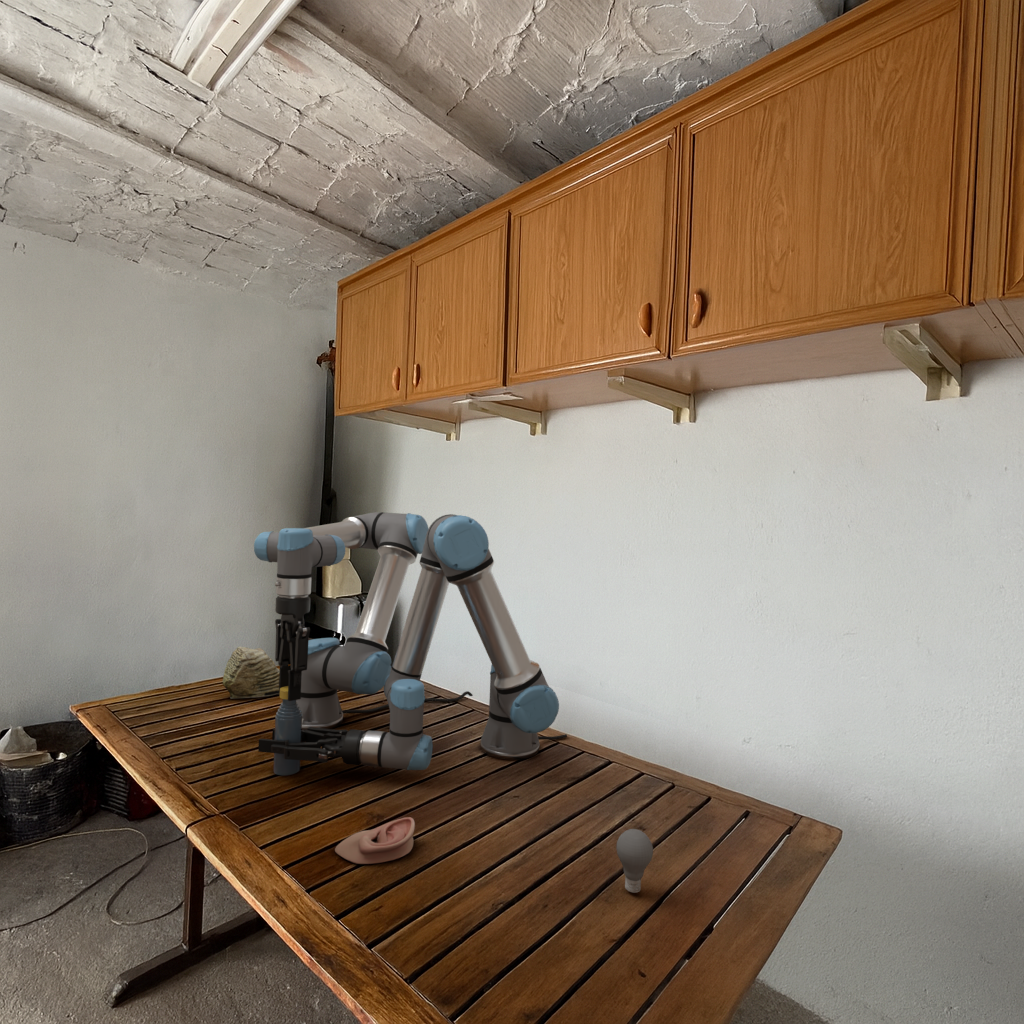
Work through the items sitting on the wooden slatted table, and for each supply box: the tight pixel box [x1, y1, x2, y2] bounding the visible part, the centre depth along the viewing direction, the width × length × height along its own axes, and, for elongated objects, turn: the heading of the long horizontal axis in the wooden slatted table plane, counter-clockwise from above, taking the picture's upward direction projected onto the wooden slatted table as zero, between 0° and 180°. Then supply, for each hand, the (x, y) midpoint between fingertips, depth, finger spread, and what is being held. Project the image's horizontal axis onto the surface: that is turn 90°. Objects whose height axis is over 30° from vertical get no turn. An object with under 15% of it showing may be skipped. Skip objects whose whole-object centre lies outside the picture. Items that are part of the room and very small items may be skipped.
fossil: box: [222, 646, 280, 699], centre depth 198 cm, size 9×18×15 cm, turn 132°
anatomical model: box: [334, 816, 416, 865], centre depth 115 cm, size 13×4×12 cm
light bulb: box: [615, 828, 654, 894], centre depth 106 cm, size 6×6×10 cm
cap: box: [279, 686, 288, 700], centre depth 146 cm, size 4×4×2 cm
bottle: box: [272, 699, 302, 776], centre depth 146 cm, size 6×6×18 cm
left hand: (289, 696), depth 146 cm, fingers closed on cap, 4 cm apart
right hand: (266, 739), depth 146 cm, fingers closed on bottle, 6 cm apart
